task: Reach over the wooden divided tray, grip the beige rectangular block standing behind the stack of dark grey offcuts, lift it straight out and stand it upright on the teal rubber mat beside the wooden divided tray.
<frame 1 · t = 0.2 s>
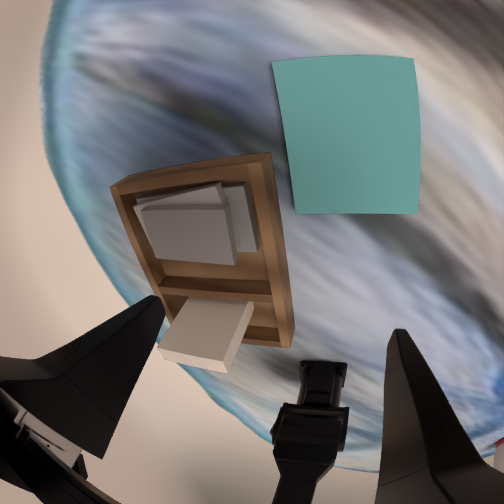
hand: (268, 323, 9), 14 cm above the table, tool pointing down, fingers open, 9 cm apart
beige rectangular block: (222, 299, 30), point 1 cm above the table, touching wooden divided tray
offcut stack: (196, 218, 24), point 1 cm above the table, touching wooden divided tray
mat: (353, 134, 17), on the table
wooden divided tray: (214, 257, 28), on the table
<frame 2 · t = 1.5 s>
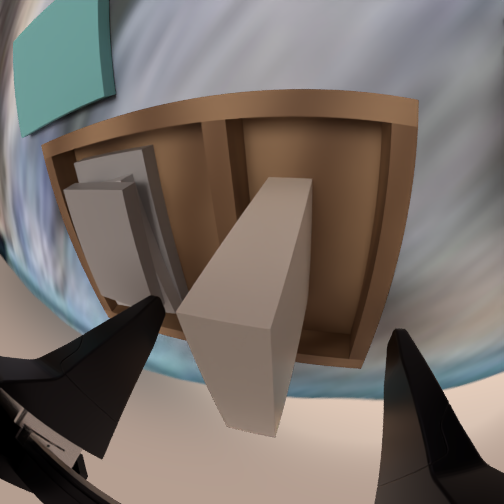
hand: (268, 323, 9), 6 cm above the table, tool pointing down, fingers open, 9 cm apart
beige rectangular block: (291, 243, 14), point 1 cm above the table, touching wooden divided tray
offcut stack: (135, 232, 16), point 1 cm above the table, touching wooden divided tray
mat: (55, 58, 11), on the table
wooden divided tray: (209, 228, 16), on the table
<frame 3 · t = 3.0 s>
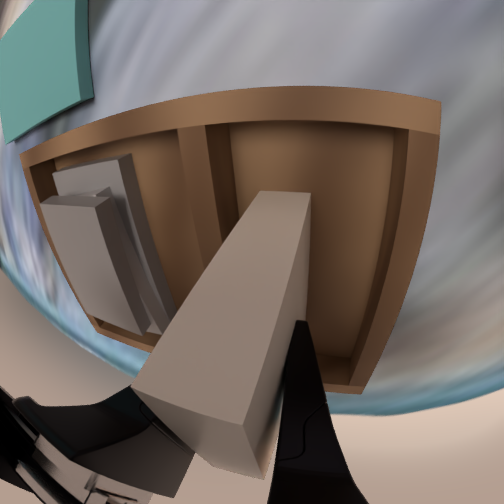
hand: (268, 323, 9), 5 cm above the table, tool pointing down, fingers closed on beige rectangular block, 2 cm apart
beige rectangular block: (286, 265, 12), point 1 cm above the table, touching gripper, wooden divided tray
offcut stack: (118, 247, 15), point 1 cm above the table, touching wooden divided tray
mat: (36, 60, 10), on the table
wooden divided tray: (196, 244, 14), on the table
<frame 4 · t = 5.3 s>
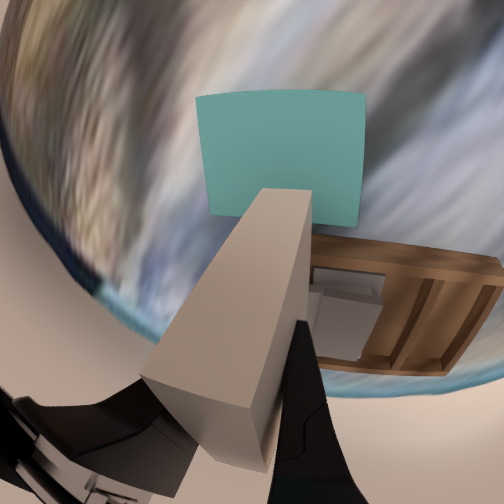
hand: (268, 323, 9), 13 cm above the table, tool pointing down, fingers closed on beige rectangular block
beige rectangular block: (288, 261, 12), point 10 cm above the table, touching gripper
offcut stack: (341, 311, 24), point 1 cm above the table, touching wooden divided tray
mat: (281, 155, 19), on the table
wooden divided tray: (389, 309, 24), on the table
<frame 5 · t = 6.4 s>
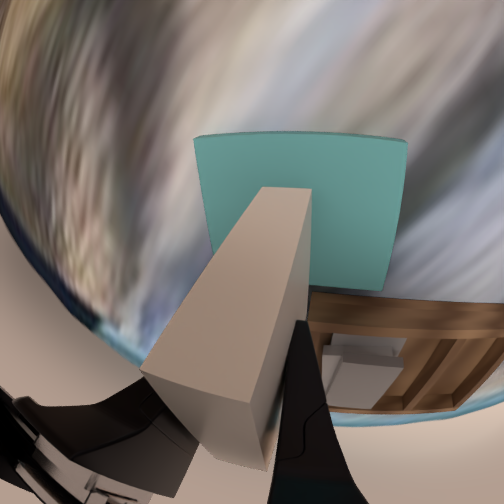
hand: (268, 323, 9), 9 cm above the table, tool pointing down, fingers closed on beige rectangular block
beige rectangular block: (288, 259, 12), point 5 cm above the table, touching gripper
offcut stack: (357, 363, 22), point 1 cm above the table, touching wooden divided tray
mat: (300, 211, 17), on the table
wooden divided tray: (406, 356, 21), on the table
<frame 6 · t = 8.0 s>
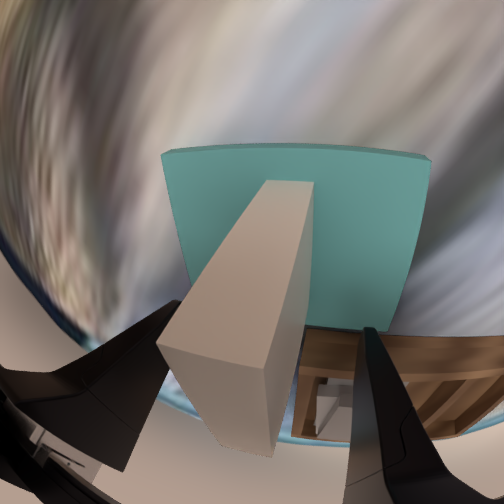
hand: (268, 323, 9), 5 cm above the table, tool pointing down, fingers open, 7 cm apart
beige rectangular block: (291, 251, 13), point 1 cm above the table, touching mat
offcut stack: (356, 397, 19), point 1 cm above the table, touching wooden divided tray
mat: (293, 241, 14), on the table
wooden divided tray: (409, 389, 18), on the table
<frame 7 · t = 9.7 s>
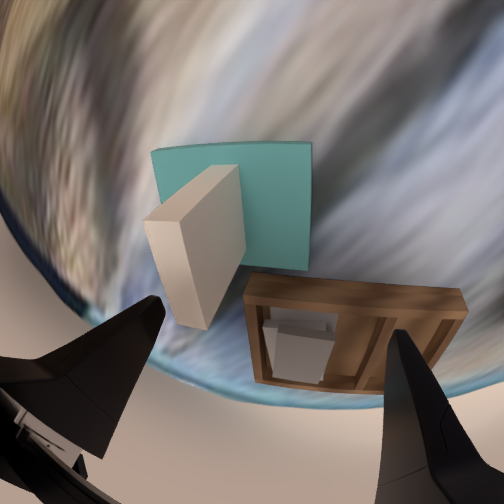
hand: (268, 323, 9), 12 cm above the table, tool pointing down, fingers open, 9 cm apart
beige rectangular block: (229, 209, 20), point 1 cm above the table, touching mat
offcut stack: (302, 339, 26), point 1 cm above the table, touching wooden divided tray
mat: (233, 204, 21), on the table
wooden divided tray: (350, 336, 26), on the table
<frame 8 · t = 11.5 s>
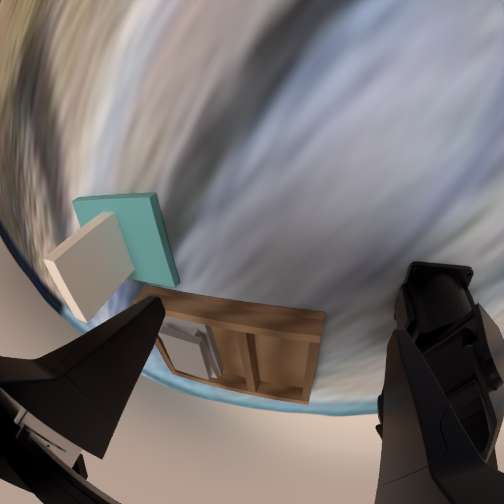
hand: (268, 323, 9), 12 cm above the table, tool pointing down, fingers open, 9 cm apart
beige rectangular block: (118, 241, 26), point 1 cm above the table, touching mat
offcut stack: (194, 341, 32), point 1 cm above the table, touching wooden divided tray
mat: (123, 237, 27), on the table
wooden divided tray: (234, 343, 31), on the table
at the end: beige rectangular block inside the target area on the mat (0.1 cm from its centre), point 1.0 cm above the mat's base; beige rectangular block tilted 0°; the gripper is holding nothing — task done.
